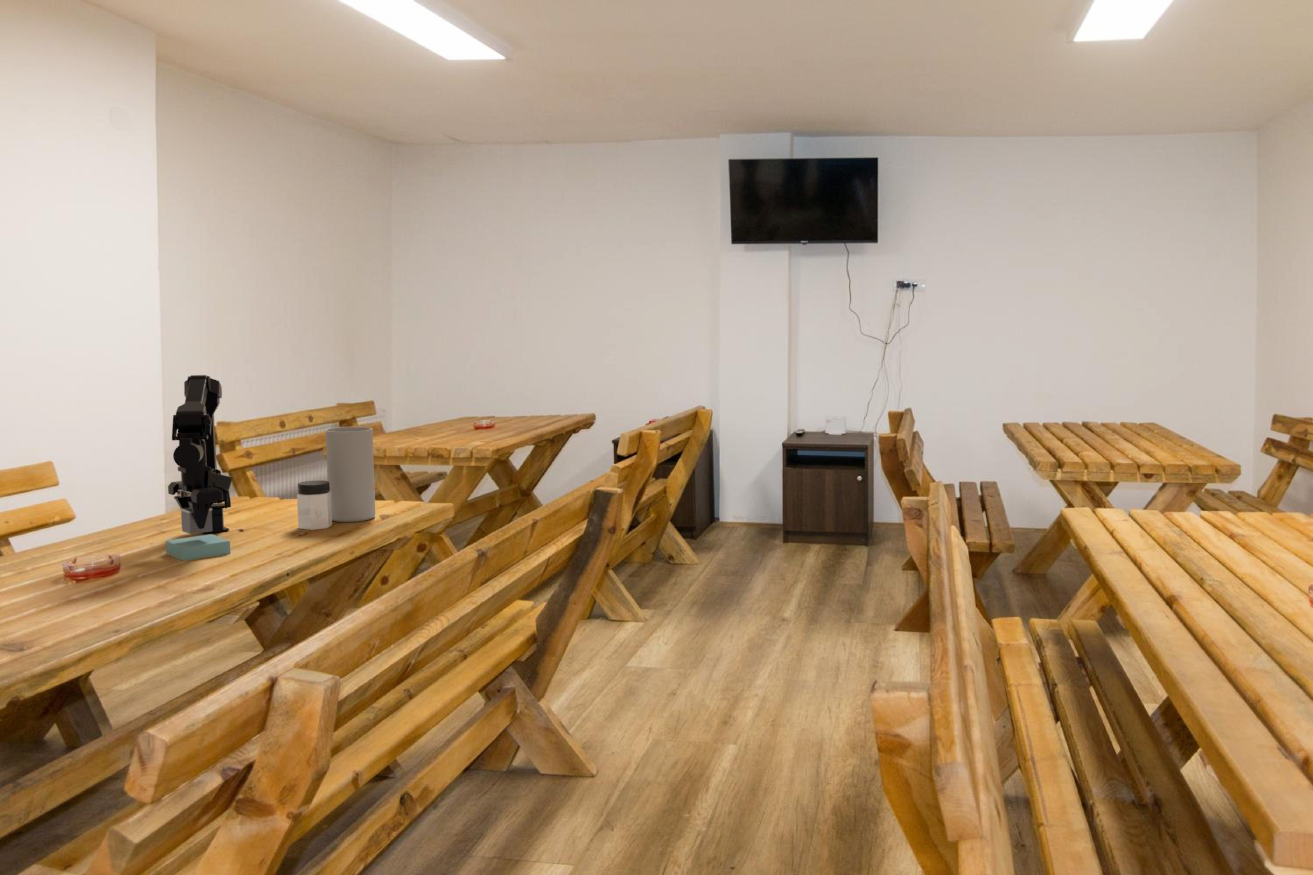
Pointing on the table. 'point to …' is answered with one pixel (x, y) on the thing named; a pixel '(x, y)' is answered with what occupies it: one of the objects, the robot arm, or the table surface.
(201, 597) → the table surface
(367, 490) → the cylinder vase
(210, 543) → the teal box
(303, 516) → the jar
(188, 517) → the tin
